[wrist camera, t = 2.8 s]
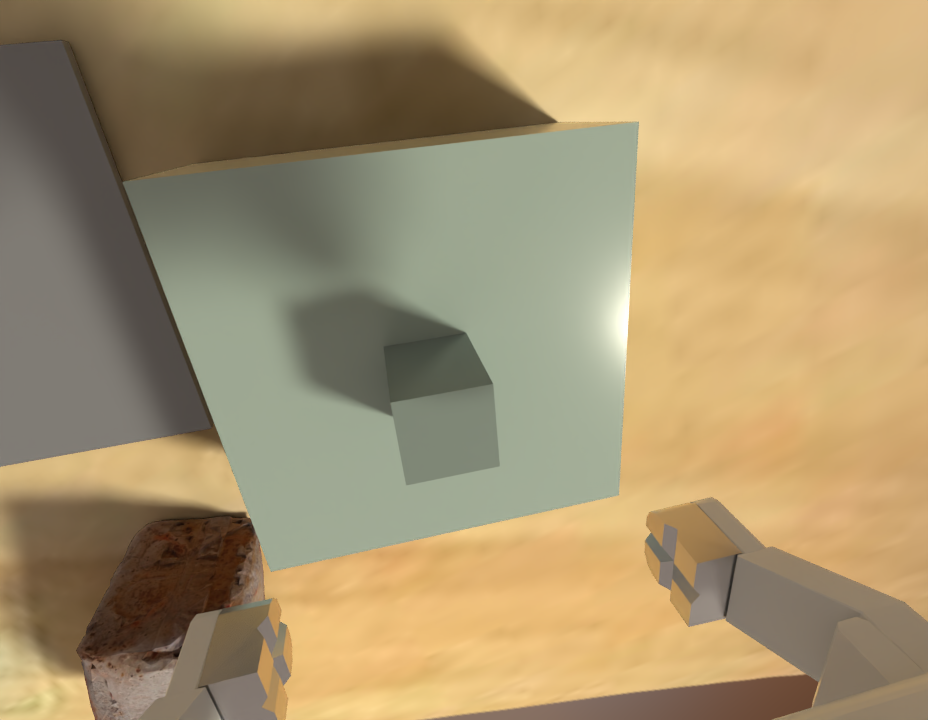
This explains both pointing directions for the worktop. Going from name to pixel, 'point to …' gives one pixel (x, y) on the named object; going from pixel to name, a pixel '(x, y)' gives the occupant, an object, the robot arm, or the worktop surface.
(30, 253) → the bar
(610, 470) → the cover
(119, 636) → the food item
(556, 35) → the worktop surface
